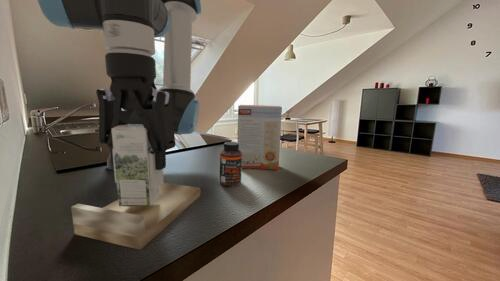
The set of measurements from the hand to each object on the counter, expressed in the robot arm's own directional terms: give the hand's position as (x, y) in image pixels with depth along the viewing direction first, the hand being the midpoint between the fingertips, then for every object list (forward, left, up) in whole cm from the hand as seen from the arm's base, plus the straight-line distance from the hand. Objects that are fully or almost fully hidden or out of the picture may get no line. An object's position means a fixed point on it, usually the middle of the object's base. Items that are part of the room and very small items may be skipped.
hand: (139, 182), depth 42 cm
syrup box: (0, 0, -4) cm, 4 cm away
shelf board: (0, +2, -7) cm, 7 cm away
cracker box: (+15, +39, -7) cm, 42 cm away
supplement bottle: (+11, +22, -7) cm, 25 cm away
